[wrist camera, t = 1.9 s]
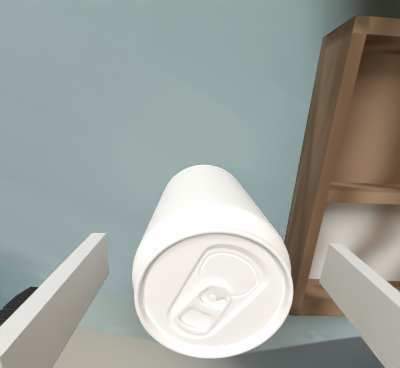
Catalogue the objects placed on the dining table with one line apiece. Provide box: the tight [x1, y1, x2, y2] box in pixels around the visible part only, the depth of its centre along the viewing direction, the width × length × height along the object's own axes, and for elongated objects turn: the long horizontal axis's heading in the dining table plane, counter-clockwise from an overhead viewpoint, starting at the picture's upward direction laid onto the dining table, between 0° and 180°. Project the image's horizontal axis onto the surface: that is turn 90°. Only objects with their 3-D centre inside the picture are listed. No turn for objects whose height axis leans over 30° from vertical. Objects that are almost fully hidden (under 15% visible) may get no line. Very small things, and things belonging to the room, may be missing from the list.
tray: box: [284, 15, 400, 316], centre depth 19 cm, size 17×25×4 cm
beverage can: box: [132, 165, 293, 359], centre depth 15 cm, size 8×8×12 cm
